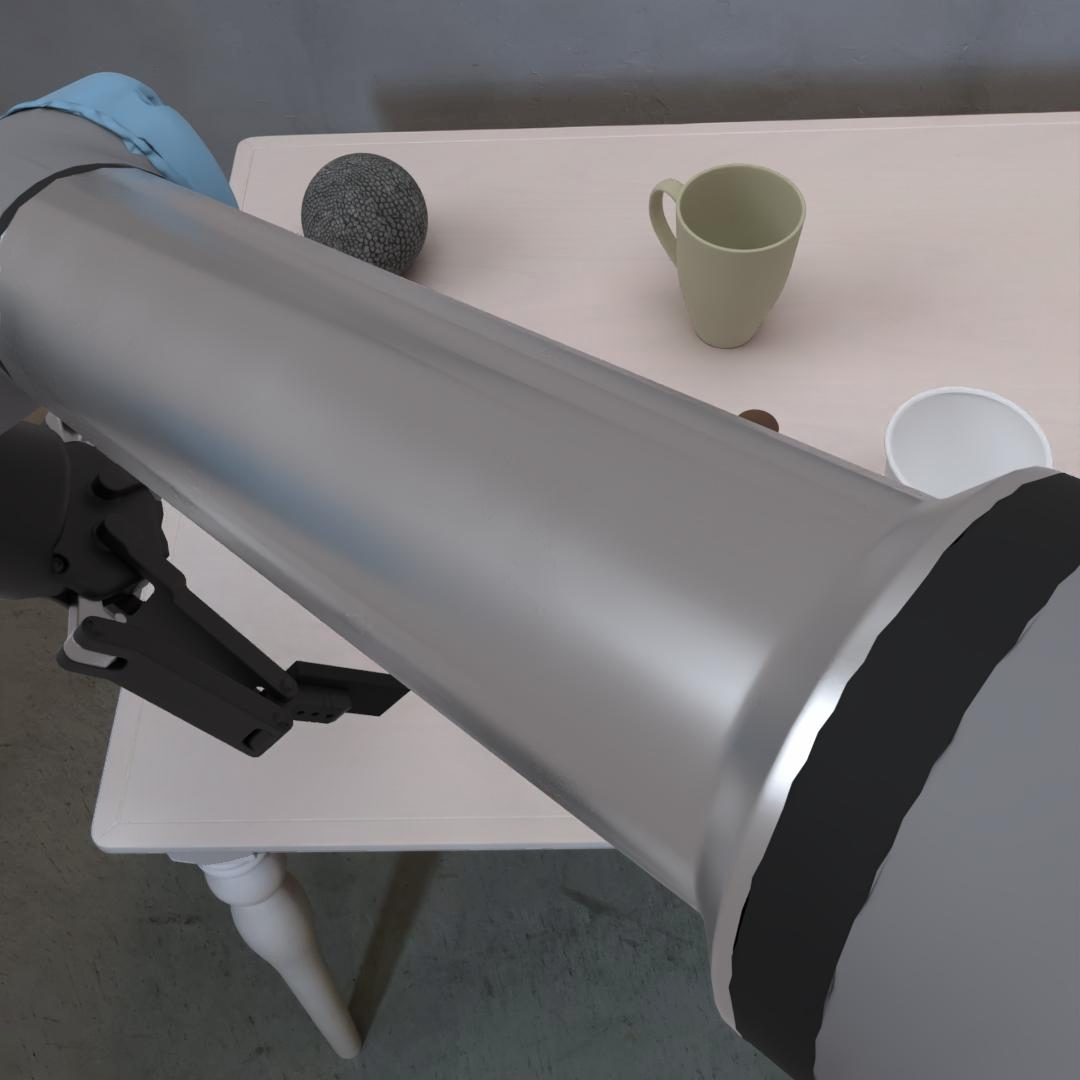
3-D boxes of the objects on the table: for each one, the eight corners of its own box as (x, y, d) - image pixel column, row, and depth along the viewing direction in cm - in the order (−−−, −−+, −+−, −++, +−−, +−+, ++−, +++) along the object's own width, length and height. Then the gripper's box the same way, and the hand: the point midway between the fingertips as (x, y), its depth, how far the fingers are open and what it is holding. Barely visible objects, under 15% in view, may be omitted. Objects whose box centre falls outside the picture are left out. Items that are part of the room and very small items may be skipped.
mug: (781, 277, 91) (804, 155, 81) (783, 371, 86) (808, 254, 76) (645, 272, 92) (651, 151, 82) (639, 365, 87) (644, 248, 77)
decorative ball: (356, 210, 98) (332, 112, 89) (456, 243, 95) (442, 145, 86) (292, 287, 93) (261, 191, 84) (396, 324, 90) (375, 229, 82)
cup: (966, 633, 74) (1018, 545, 64) (826, 565, 77) (857, 471, 67) (1021, 524, 78) (1078, 426, 68) (886, 463, 81) (924, 362, 72)
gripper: (-94, 337, 54) (287, 449, 68) (-98, 825, 41) (374, 836, 55) (-31, 226, 50) (357, 370, 65) (-14, 724, 37) (469, 764, 51)
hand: (366, 585), depth 60 cm, fingers open, 13 cm apart
